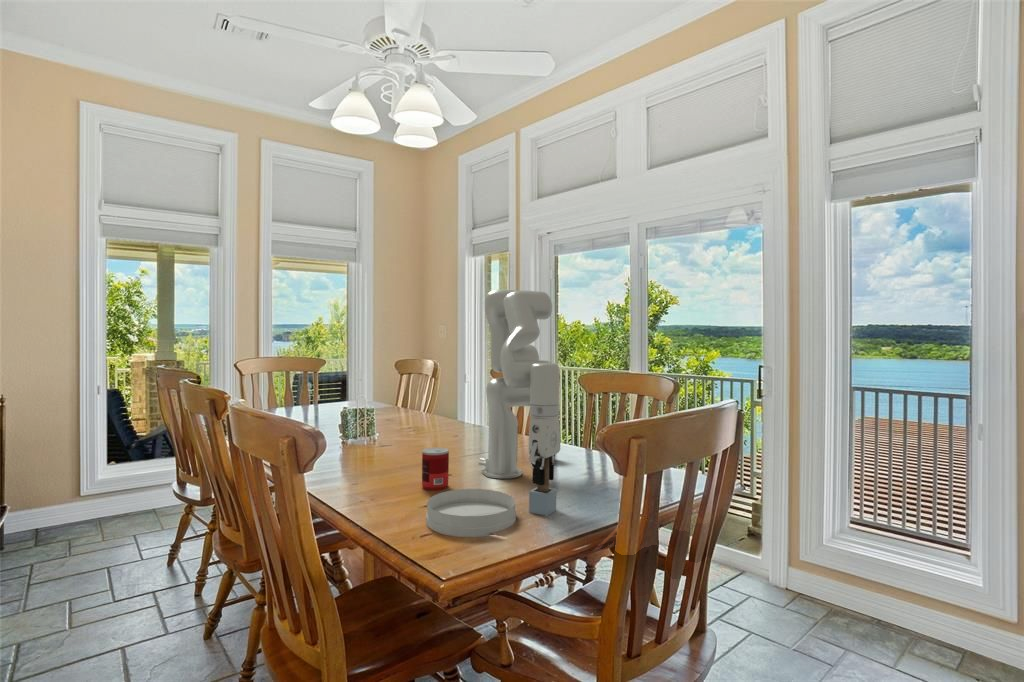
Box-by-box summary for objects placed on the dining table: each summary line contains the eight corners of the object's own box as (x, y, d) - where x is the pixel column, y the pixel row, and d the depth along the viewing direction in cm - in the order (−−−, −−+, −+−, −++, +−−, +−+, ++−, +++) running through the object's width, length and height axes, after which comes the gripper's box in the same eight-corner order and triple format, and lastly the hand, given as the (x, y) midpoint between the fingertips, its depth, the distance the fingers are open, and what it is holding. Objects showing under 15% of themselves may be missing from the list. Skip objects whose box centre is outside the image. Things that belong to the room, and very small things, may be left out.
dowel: (534, 511, 140) (535, 457, 140) (540, 508, 143) (540, 455, 143) (545, 513, 139) (546, 458, 139) (550, 510, 141) (551, 456, 141)
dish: (440, 544, 121) (440, 521, 121) (416, 513, 141) (416, 493, 141) (531, 530, 129) (531, 509, 129) (496, 503, 150) (496, 485, 150)
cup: (529, 514, 140) (529, 491, 140) (538, 508, 144) (538, 486, 144) (547, 518, 137) (547, 494, 137) (556, 512, 142) (556, 489, 142)
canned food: (453, 485, 166) (453, 448, 165) (438, 492, 158) (439, 454, 158) (431, 481, 169) (432, 446, 169) (416, 488, 162) (417, 451, 161)
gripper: (543, 416, 131) (542, 492, 132) (570, 408, 146) (569, 476, 146) (515, 414, 135) (514, 487, 135) (545, 406, 150) (544, 472, 150)
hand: (543, 481), depth 141 cm, fingers open, 4 cm apart
